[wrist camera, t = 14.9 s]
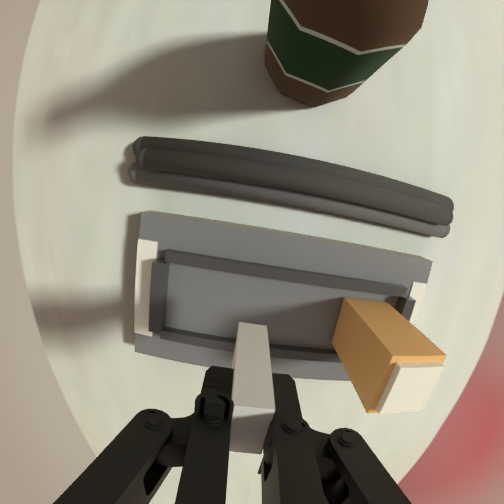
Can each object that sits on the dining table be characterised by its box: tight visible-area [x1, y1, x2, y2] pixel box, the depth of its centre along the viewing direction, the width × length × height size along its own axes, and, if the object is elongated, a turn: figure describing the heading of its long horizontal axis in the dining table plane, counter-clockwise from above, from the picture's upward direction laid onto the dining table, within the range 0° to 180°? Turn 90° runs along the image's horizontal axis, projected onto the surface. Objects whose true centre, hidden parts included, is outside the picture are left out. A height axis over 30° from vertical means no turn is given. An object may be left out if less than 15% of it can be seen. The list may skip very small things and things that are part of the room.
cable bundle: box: [129, 136, 454, 238], centre depth 21 cm, size 28×4×3 cm, turn 81°
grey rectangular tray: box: [134, 211, 433, 381], centre depth 23 cm, size 12×24×3 cm, turn 81°
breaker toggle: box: [332, 297, 446, 414], centre depth 18 cm, size 4×4×10 cm
